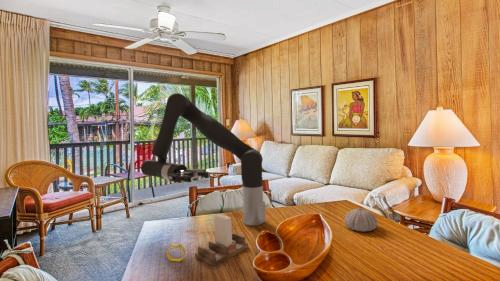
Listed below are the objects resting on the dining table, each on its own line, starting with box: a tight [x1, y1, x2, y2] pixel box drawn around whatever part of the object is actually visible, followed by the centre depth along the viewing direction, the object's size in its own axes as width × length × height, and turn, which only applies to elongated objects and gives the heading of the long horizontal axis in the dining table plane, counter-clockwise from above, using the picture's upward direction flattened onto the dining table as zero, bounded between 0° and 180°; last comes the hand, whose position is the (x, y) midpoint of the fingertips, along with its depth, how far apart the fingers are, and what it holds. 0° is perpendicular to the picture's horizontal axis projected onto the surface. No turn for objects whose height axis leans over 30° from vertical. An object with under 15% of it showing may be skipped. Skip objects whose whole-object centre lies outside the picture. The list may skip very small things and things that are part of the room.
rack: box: [194, 231, 249, 268], centre depth 99 cm, size 10×17×4 cm, turn 140°
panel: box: [214, 213, 233, 253], centre depth 98 cm, size 6×2×12 cm, turn 50°
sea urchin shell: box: [344, 208, 378, 232], centre depth 118 cm, size 13×14×8 cm
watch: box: [166, 241, 186, 263], centre depth 94 cm, size 6×3×6 cm, turn 89°
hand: (199, 177), depth 104 cm, fingers open, 8 cm apart
